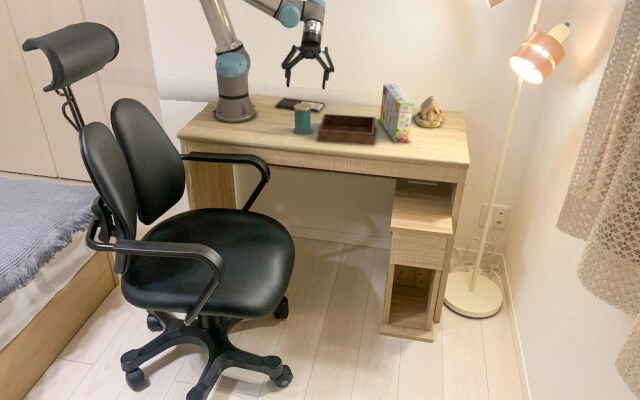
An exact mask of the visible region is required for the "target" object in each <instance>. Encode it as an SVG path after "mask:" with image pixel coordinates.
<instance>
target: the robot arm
mask: <svg viewBox="0 0 640 400" xmlns="http://www.w3.org/2000/svg"><path fill="white" fill-rule="evenodd" d="M198 1H199V3H200V6H201V8H202V9H201V10H202V11H203V14H204V16H205V19H206V22H207V24H208V26H209V29H210V32H211V35H212V37H213V40H214V42H215V45H216V46H215V48H214V53H215V55H216V58H215V65H214V68H215V73H216V81H217V82H216V83H217V92H218V93H217V94H218V100H217V105H216V108H215V109H214V110H213V111H212V113H215V116H216V118H217V120H219V121H221V122H225V123H242V122H247V121H249V120H251V119H253V118H254V117H255V104H253V103H252V101H251V98H250V93H249V92H250V91H249V71H250V68H251V57H250V55H249V53H248V51H247V50H246V48H245V46H244V45H245V44H244V42H243V41H242V40H240V39H239V38H238V37H237V35H236V31H235V29H234V26H233V24H232V21H231V18H230V14H229V12H228V9H227V6H226V4H225V1H224V0H198ZM242 1H243V2H245V3H246V4H248V5H250V6H252V7H253V8H255V9H257V10H259V11H261V12H262V13H264V14H266V15H268V16H269V17H271V18H273V19H274V20H276V21H278V22H279V23H280V25H282V26H283V27H284V28H286V29H294V28H296V27H297V26H298V25H299V24H300V22H303V27H302V33H301V34H302V35H301V41H300V45H299V46H296V44H293V45H292V46H291V50H290V51H289V52H288V54H287V56H286V57H284V60H283V61H282V62H281V64H280V66H281V69H282V70H284V77H285V79H286V81H285V85H286V88H290V85H291V77H292V69H293V68H294V67H296V65H297V64H299V62H301V61H303V60H304V59H305V60H311V61H313V60H316V61H317V63H318V64H319V65H320V66H321V68H322V69H323V74H322V75H323V76H322V83H321V88H322V90H324V91H325V90H326V82H328V81H329V80H330V74H331V73H335V70H336V69H335V66H334V64H333V61H332V59H331V56H330V54H329V47H328V46H325V47H321V45H322V37H323V31H324V30H323V29H324V21H325V14H326V1H325V0H242ZM298 52H299V53H298ZM297 53H298V54H297ZM321 53H322V54H323V55H324V56H325V59H326V62H327V64H326V62H325V61H324V59H323V58H322V57H321V55H320V54H321ZM296 54H297V55H296ZM295 55H296V56H295Z"/></svg>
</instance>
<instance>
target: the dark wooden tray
mask: <svg viewBox="0 0 640 400" xmlns="http://www.w3.org/2000/svg"><path fill="white" fill-rule="evenodd" d="M375 124H376V116H364V115H363V116H362V115H348V114H347V115H346V114H333V113H323V116H322V119H321V122H320V125H319V128H318V141H319V142H332V143H345V144H361V145H374V137H375V126H376V125H375Z"/></svg>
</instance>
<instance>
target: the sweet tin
mask: <svg viewBox="0 0 640 400" xmlns="http://www.w3.org/2000/svg"><path fill="white" fill-rule="evenodd" d="M293 111H294V132H295V133H296V134H298V135H306V134H309V133H311V131H312V129H311V128H312V111H311V105H309V104H306V103H299V104H296V105H294V109H293Z"/></svg>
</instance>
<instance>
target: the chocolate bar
mask: <svg viewBox="0 0 640 400" xmlns="http://www.w3.org/2000/svg"><path fill="white" fill-rule="evenodd" d="M299 103H306V104H309V105H311V113H318V112H320V110H321V109H323V107H324V106H325V103H324V102H320V101H312V100H304V99H297V98H289V97H283V98H282V99H281V100H280V101H278V103H276V105H275V106H276V108H280V109H287V110H294V105H296V104H299Z"/></svg>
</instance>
